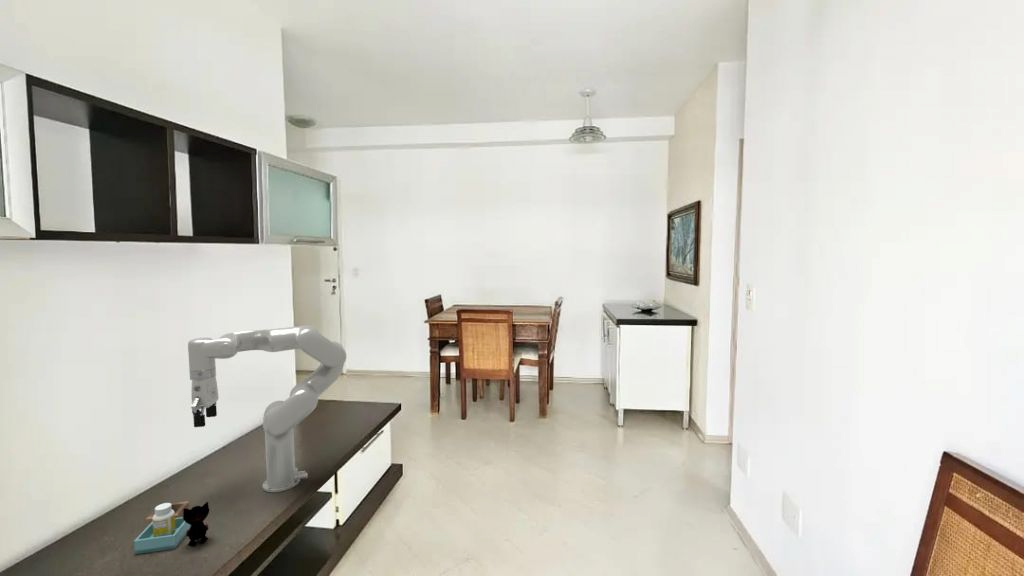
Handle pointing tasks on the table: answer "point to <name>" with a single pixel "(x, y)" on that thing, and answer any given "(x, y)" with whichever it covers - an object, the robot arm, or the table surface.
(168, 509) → the supplement bottle
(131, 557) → the table surface
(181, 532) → the tray
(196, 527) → the cat figurine
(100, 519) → the table surface
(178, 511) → the hollow wooden block
